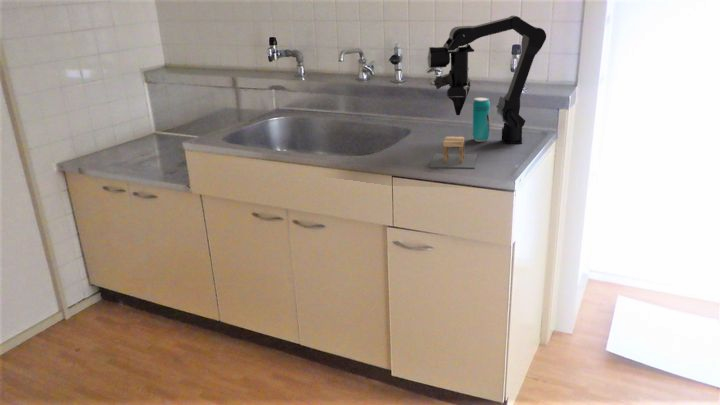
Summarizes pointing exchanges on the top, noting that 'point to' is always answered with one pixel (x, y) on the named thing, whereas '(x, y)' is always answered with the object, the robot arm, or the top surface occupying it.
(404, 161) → the top surface
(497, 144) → the top surface
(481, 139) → the beverage can
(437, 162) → the mat
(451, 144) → the stool
